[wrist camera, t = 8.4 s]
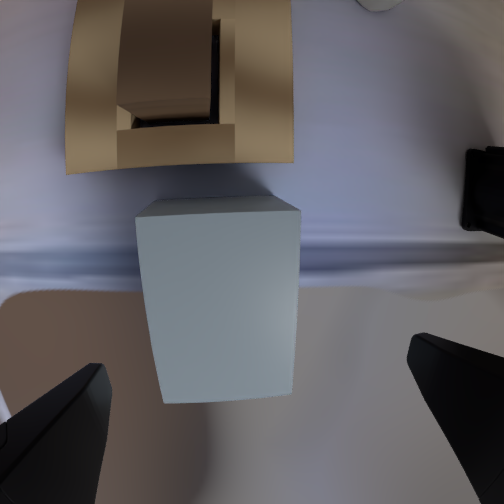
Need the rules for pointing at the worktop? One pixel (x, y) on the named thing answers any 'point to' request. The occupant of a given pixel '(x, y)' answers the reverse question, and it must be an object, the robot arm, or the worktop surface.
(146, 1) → the walnut peg
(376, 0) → the eye dropper bottle
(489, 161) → the robot arm
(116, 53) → the socket board
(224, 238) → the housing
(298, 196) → the worktop surface
